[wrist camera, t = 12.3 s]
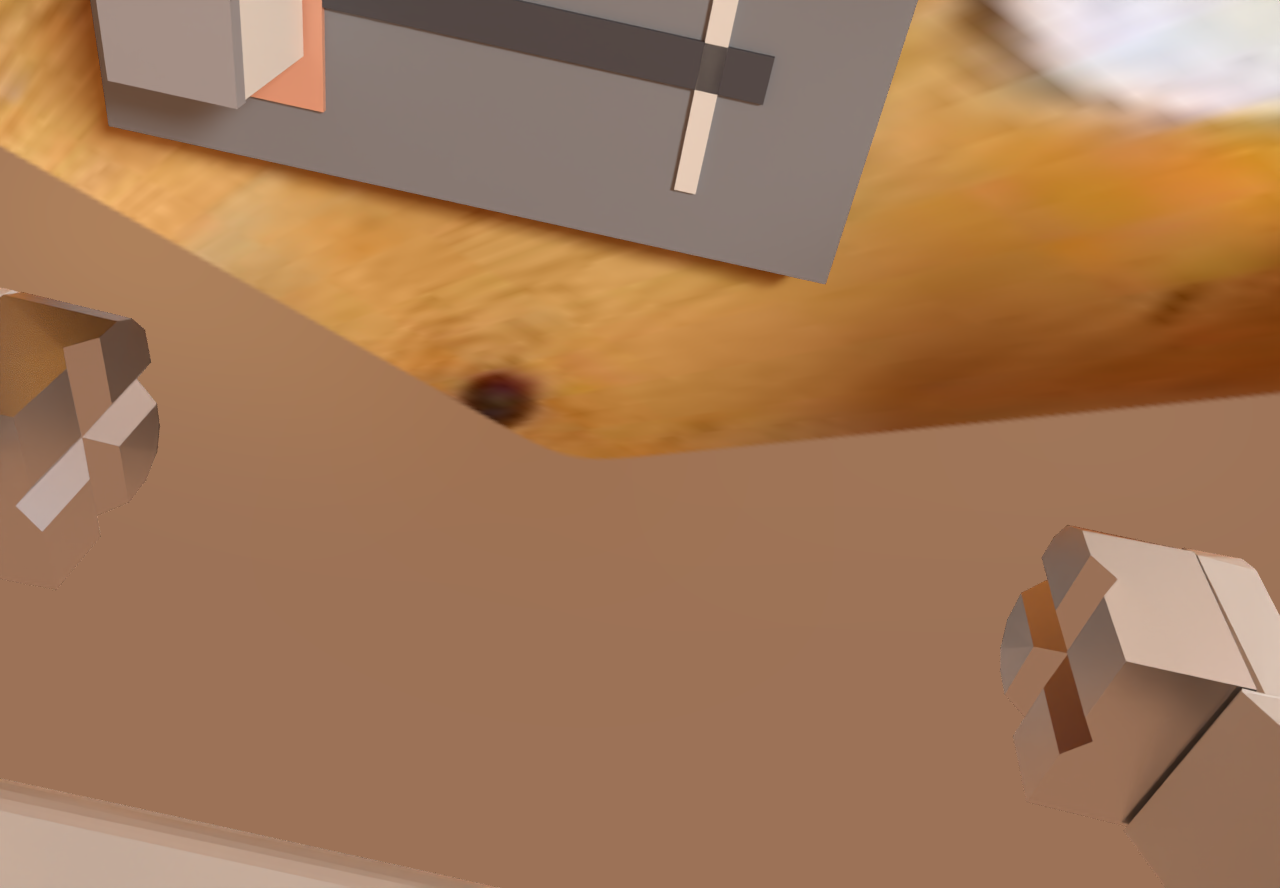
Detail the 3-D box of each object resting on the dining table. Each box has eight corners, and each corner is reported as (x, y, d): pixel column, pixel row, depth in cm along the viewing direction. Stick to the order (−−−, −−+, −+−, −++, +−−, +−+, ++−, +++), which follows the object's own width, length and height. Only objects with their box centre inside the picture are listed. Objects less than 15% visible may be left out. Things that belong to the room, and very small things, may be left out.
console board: (948, -136, 33) (958, -122, 30) (824, 255, 41) (825, 287, 39) (88, -327, 33) (37, -327, 30) (142, 104, 41) (105, 128, 39)
